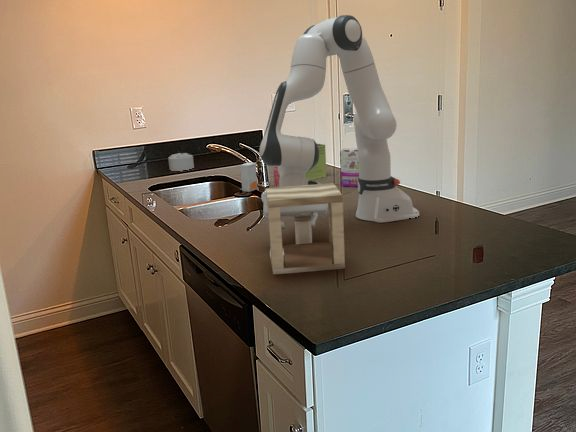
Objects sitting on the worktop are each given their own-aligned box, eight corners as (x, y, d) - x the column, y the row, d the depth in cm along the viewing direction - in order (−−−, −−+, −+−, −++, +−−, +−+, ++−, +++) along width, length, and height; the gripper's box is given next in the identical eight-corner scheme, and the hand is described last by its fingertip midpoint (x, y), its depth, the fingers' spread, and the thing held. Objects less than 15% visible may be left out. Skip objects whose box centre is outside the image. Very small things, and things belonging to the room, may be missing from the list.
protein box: (327, 176, 280) (325, 144, 276) (300, 182, 272) (299, 149, 268) (314, 173, 289) (312, 142, 284) (288, 179, 280) (286, 146, 276)
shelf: (269, 254, 178) (265, 186, 172) (335, 248, 179) (332, 181, 173) (273, 274, 161) (268, 200, 156) (344, 268, 163) (342, 195, 157)
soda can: (290, 197, 245) (288, 166, 242) (273, 197, 247) (271, 166, 243) (293, 193, 252) (291, 163, 249) (277, 193, 254) (275, 163, 250)
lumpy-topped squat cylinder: (168, 169, 322) (167, 153, 320) (192, 166, 326) (190, 151, 324) (171, 172, 313) (169, 156, 310) (195, 169, 317) (194, 153, 314)
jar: (312, 249, 175) (310, 212, 172) (314, 255, 170) (312, 217, 167) (294, 251, 175) (292, 214, 171) (296, 257, 170) (294, 218, 166)
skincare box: (249, 192, 258) (247, 165, 255) (242, 191, 261) (239, 164, 257) (257, 189, 263) (255, 162, 260) (250, 188, 266) (248, 162, 262)
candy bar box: (368, 185, 258) (367, 148, 254) (365, 187, 254) (364, 150, 250) (344, 184, 263) (342, 147, 258) (340, 186, 258) (339, 149, 254)
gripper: (260, 185, 182) (263, 224, 176) (326, 182, 184) (331, 220, 177) (260, 196, 188) (263, 234, 181) (324, 193, 189) (329, 230, 182)
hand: (297, 227), depth 179 cm, fingers open, 8 cm apart
